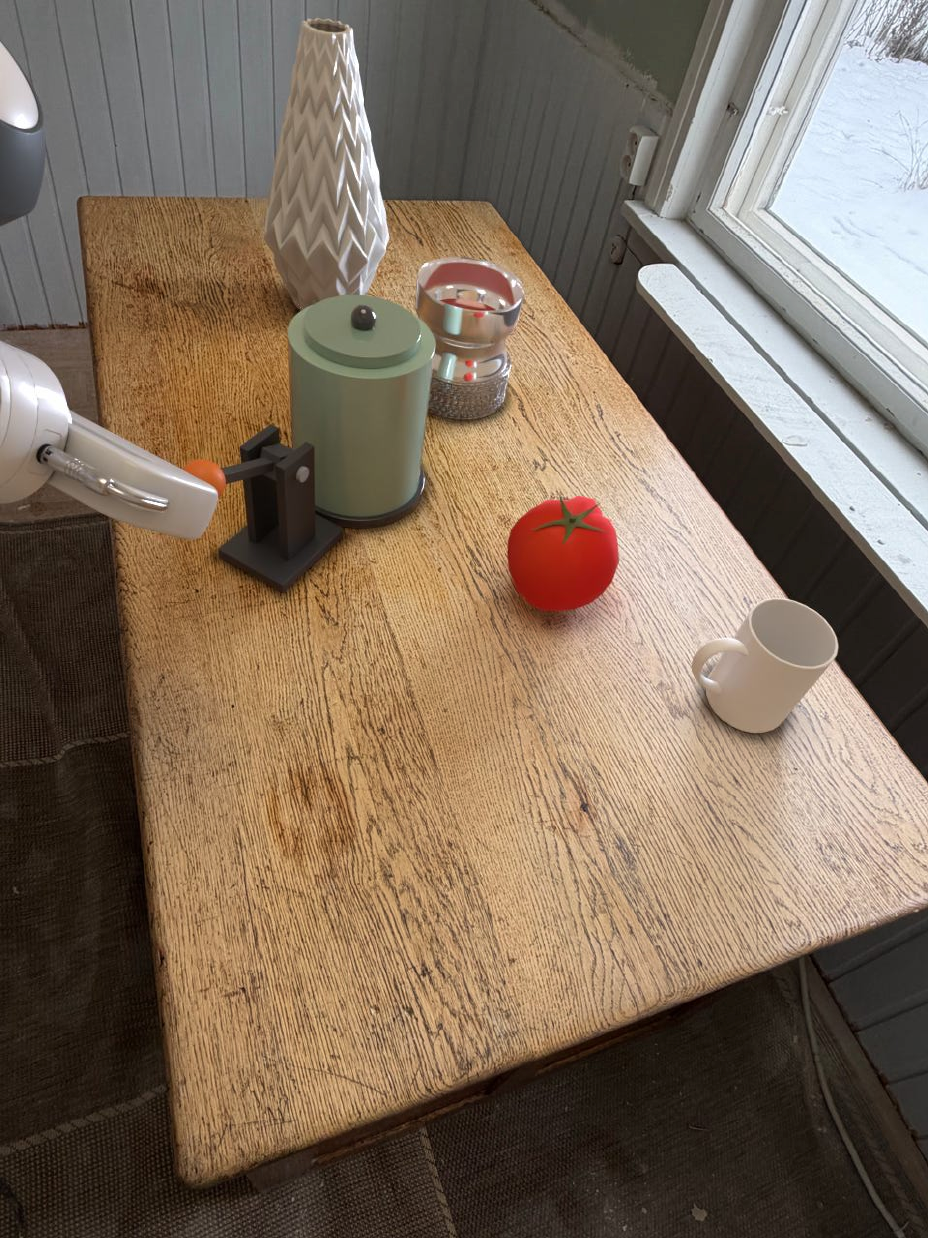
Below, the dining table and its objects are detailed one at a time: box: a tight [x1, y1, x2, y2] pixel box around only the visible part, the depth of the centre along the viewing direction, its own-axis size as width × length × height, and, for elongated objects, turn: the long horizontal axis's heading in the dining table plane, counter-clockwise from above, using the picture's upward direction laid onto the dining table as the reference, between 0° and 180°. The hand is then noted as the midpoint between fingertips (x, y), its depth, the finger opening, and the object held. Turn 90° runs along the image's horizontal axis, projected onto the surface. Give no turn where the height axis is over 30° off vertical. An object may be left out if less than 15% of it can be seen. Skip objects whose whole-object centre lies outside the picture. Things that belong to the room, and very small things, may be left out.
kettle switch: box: [182, 442, 295, 500], centre depth 67 cm, size 13×4×4 cm, turn 150°
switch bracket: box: [217, 423, 344, 593], centre depth 75 cm, size 10×8×13 cm
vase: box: [263, 17, 390, 312], centre depth 99 cm, size 17×17×33 cm
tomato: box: [506, 495, 620, 612], centre depth 77 cm, size 11×13×10 cm
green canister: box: [286, 294, 436, 529], centre depth 80 cm, size 15×15×21 cm
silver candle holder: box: [414, 256, 525, 421], centre depth 98 cm, size 13×18×15 cm
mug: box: [691, 597, 839, 734], centre depth 71 cm, size 12×8×10 cm, turn 102°
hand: (145, 469), depth 56 cm, fingers open, 8 cm apart
